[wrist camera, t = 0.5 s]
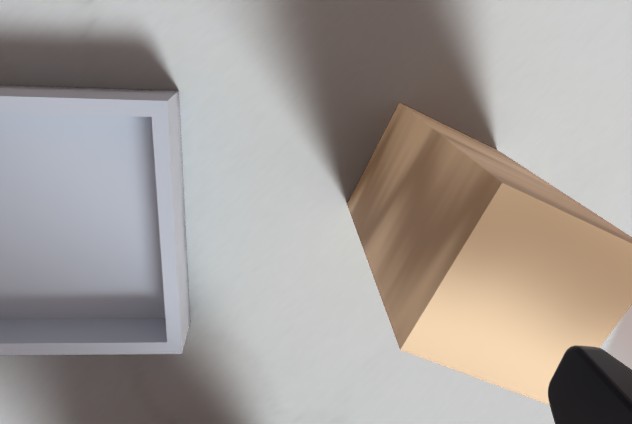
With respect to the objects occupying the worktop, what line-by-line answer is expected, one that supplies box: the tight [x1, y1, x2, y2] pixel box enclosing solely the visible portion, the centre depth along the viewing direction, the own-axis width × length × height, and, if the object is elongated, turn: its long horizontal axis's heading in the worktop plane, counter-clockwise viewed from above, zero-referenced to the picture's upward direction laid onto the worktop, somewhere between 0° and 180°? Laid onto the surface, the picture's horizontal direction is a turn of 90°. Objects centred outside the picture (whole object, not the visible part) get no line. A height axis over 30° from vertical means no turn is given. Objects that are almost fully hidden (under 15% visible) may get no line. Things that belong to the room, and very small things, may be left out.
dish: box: [0, 85, 190, 356], centre depth 22 cm, size 11×11×2 cm
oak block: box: [347, 103, 632, 405], centre depth 19 cm, size 5×5×11 cm
